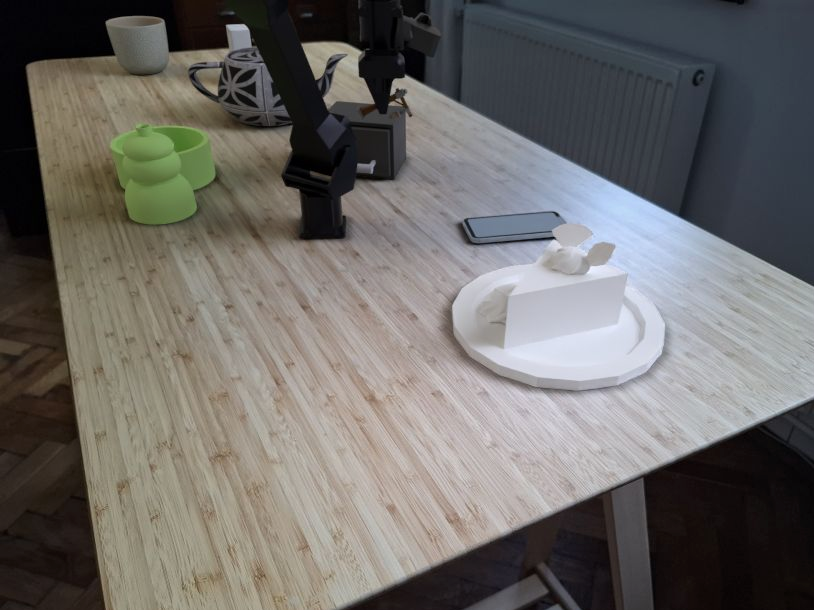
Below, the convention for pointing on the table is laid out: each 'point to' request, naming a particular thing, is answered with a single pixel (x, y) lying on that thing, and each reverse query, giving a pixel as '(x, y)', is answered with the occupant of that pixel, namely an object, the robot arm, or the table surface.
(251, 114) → the teapot
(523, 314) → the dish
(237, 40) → the cosmetic box
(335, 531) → the table surface
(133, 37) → the planter
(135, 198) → the food container
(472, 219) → the smartphone
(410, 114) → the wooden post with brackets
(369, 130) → the drawer
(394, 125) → the cabinet
